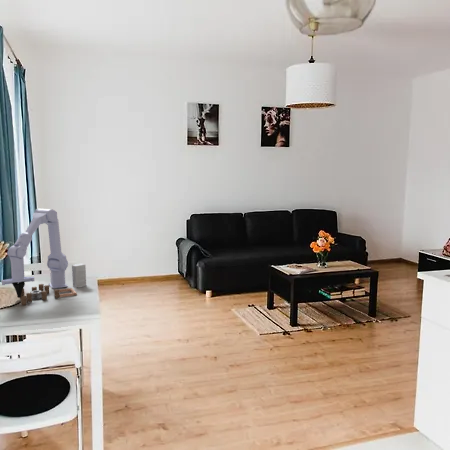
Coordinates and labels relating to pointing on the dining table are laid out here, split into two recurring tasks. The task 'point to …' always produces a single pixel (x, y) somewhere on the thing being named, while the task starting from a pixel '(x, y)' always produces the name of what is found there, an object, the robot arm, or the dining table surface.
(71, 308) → the dining table surface
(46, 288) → the walnut spacers
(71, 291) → the parts bay
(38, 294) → the steel nut
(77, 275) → the skincare box
